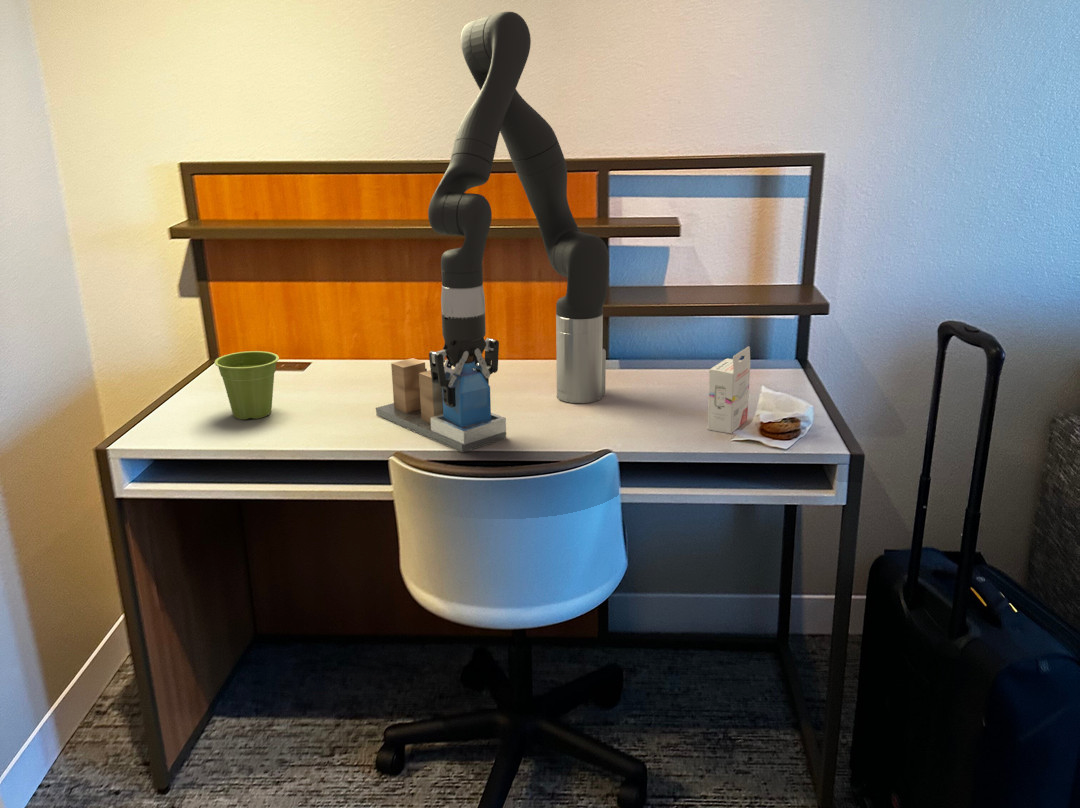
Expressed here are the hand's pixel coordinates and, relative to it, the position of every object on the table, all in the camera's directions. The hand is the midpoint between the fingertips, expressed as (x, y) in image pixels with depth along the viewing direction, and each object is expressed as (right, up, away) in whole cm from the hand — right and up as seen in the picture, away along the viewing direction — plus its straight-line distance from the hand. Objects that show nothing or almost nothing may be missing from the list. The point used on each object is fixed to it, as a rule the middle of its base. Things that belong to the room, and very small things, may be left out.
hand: (466, 401), depth 169 cm
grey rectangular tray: (-6, -5, +8) cm, 11 cm away
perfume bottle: (0, -3, +1) cm, 4 cm away
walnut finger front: (-6, -3, +8) cm, 10 cm away
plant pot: (-43, -3, +16) cm, 46 cm away
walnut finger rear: (-12, -1, +14) cm, 19 cm away
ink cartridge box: (+48, -5, +7) cm, 49 cm away
